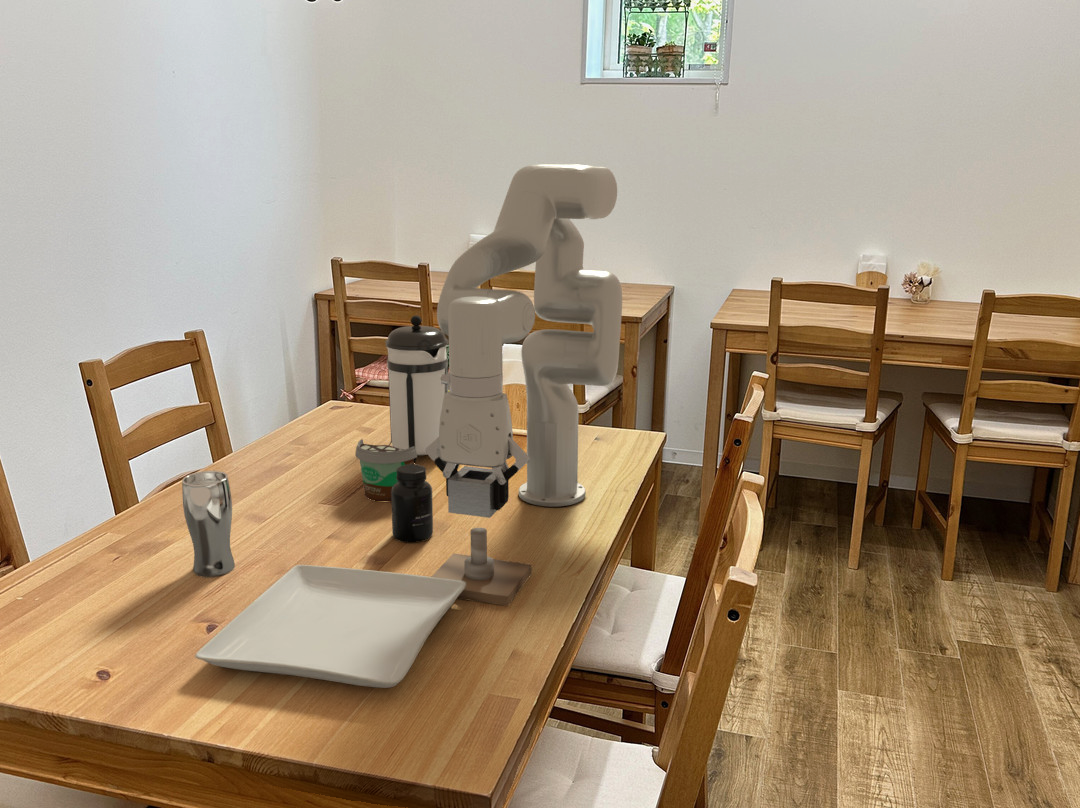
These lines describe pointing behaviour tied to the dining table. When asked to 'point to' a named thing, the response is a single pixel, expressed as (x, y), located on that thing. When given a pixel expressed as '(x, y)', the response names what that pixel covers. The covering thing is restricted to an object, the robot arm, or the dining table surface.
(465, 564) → the shaft block
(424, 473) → the supplement bottle
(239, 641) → the square plate
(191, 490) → the beer glass
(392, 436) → the coffee press
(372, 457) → the food container
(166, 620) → the dining table surface
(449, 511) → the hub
